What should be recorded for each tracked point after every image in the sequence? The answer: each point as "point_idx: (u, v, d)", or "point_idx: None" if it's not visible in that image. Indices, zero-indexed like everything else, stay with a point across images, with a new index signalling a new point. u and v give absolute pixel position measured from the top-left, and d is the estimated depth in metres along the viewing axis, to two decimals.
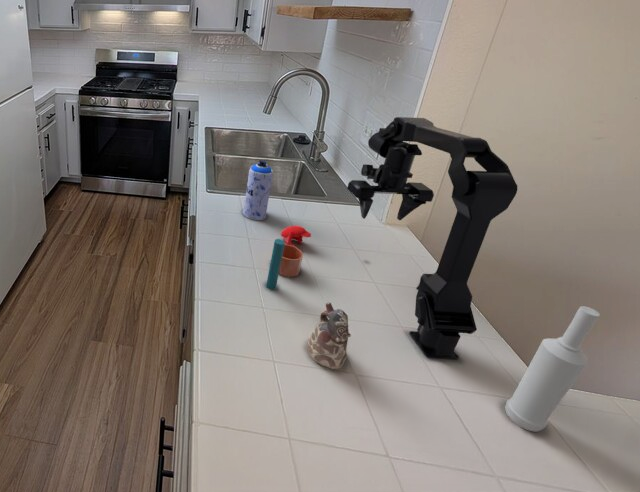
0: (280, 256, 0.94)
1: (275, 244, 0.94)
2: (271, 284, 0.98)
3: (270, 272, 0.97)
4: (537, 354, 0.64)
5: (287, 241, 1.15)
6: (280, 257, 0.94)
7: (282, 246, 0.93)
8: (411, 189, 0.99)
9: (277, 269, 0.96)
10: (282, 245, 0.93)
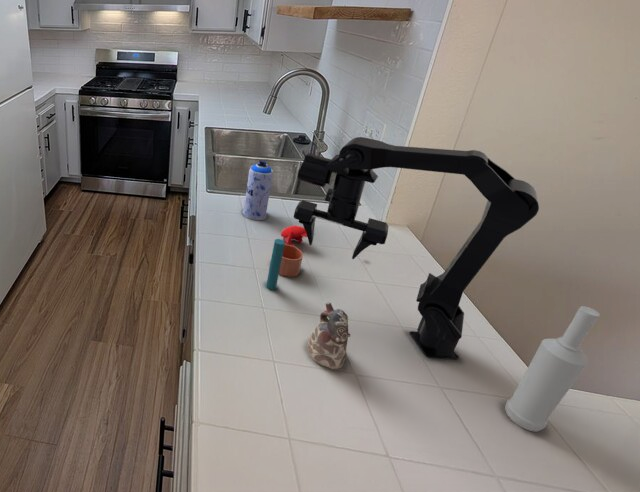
0: (280, 256, 0.94)
1: (275, 244, 0.94)
2: (271, 284, 0.98)
3: (270, 272, 0.97)
4: (537, 354, 0.64)
5: (287, 241, 1.15)
6: (280, 257, 0.94)
7: (282, 246, 0.93)
8: (364, 225, 0.85)
9: (277, 269, 0.96)
10: (282, 245, 0.93)
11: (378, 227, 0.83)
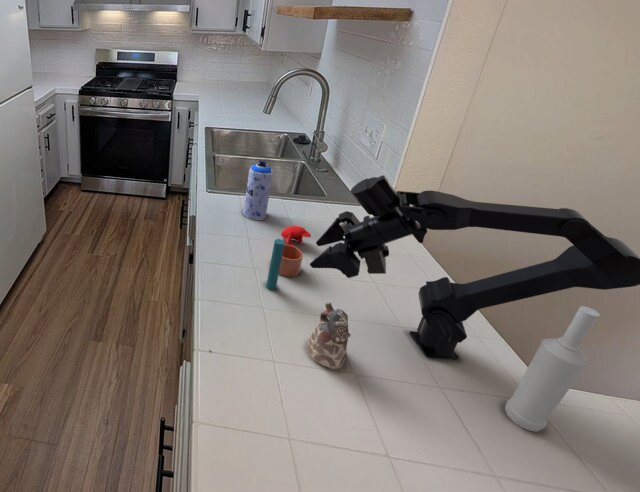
0: (280, 256, 0.94)
1: (275, 244, 0.94)
2: (271, 284, 0.98)
3: (270, 272, 0.97)
4: (537, 354, 0.64)
5: (287, 241, 1.15)
6: (280, 257, 0.94)
7: (282, 246, 0.93)
8: None
9: (277, 269, 0.96)
10: (282, 245, 0.93)
11: (349, 253, 0.78)
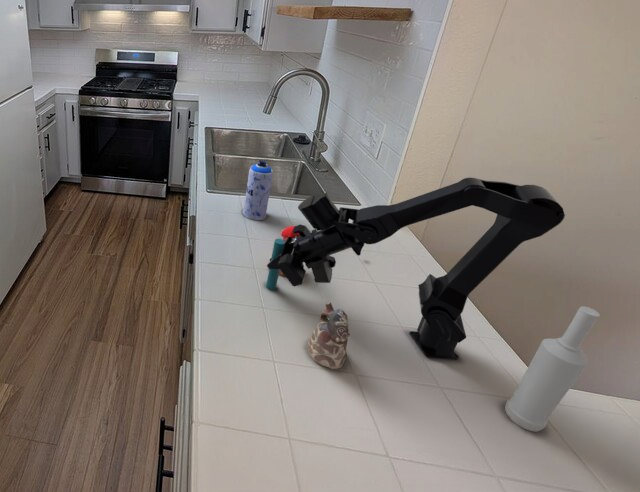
0: None
1: (275, 244, 0.94)
2: (271, 283, 0.98)
3: (270, 272, 0.97)
4: (537, 354, 0.64)
5: None
6: None
7: (282, 246, 0.93)
8: None
9: (277, 269, 0.96)
10: (282, 245, 0.93)
11: (294, 264, 0.85)
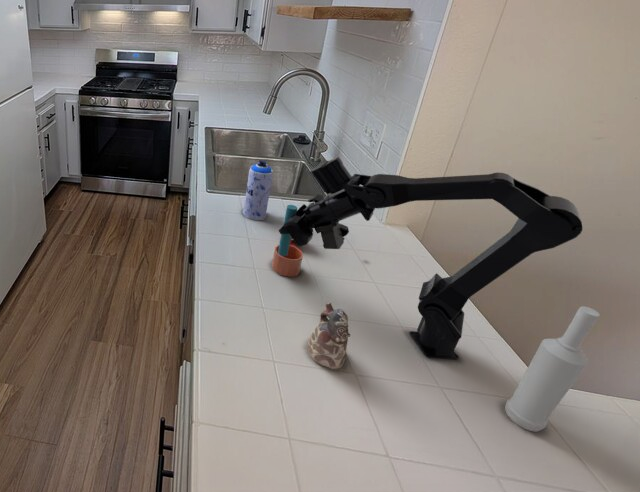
0: None
1: (287, 209, 0.96)
2: (282, 249, 0.99)
3: (282, 238, 0.99)
4: (537, 354, 0.64)
5: None
6: None
7: (294, 211, 0.95)
8: None
9: (288, 235, 0.97)
10: (294, 210, 0.95)
11: (301, 224, 0.87)
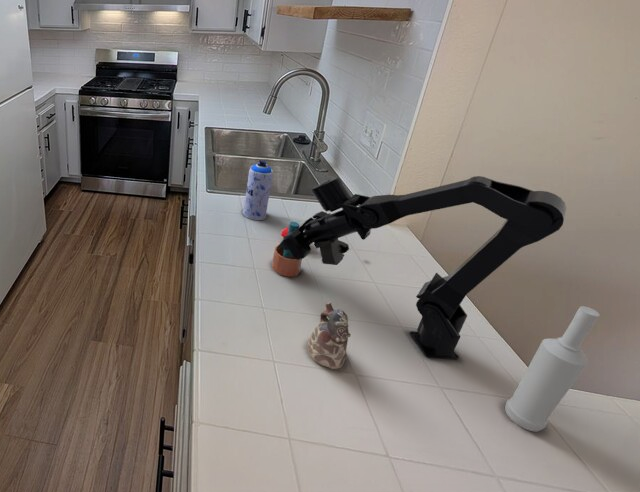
0: None
1: (289, 225, 1.01)
2: None
3: (284, 252, 1.04)
4: (537, 354, 0.64)
5: None
6: None
7: (296, 228, 1.00)
8: None
9: None
10: (295, 227, 1.00)
11: (299, 239, 0.92)
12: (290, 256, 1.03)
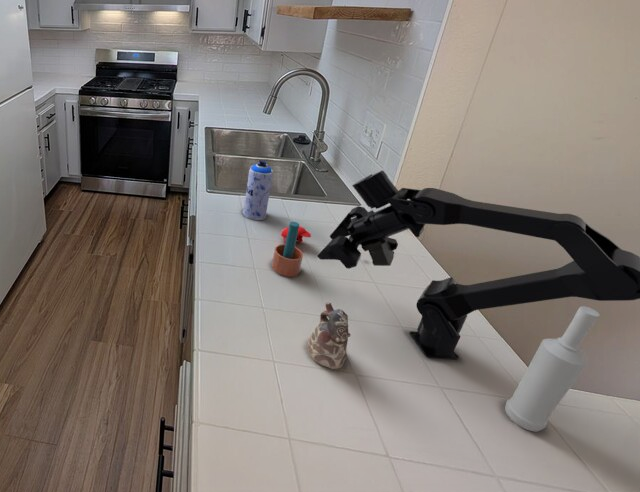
0: (293, 237, 1.01)
1: (289, 225, 1.01)
2: None
3: (284, 252, 1.04)
4: (537, 354, 0.64)
5: None
6: (293, 238, 1.01)
7: (295, 228, 1.00)
8: None
9: (290, 250, 1.02)
10: (295, 227, 1.00)
11: (347, 246, 0.84)
12: (290, 256, 1.03)
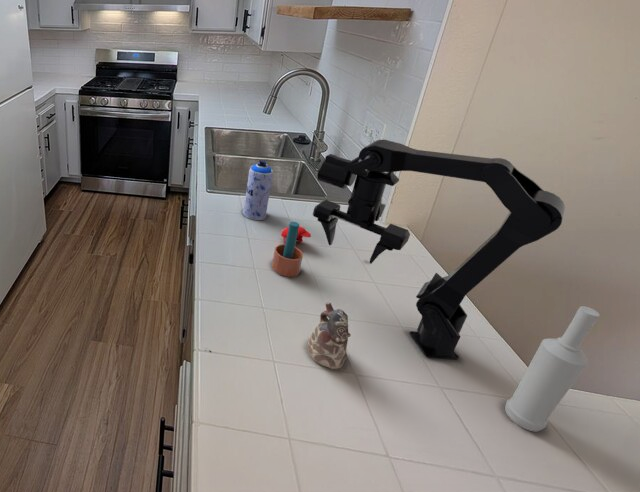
0: (293, 237, 1.01)
1: (289, 225, 1.01)
2: None
3: (284, 252, 1.04)
4: (537, 354, 0.64)
5: None
6: (293, 238, 1.01)
7: (295, 228, 1.00)
8: (383, 230, 0.84)
9: (290, 250, 1.02)
10: (295, 227, 1.00)
11: (396, 233, 0.81)
12: (290, 256, 1.03)
